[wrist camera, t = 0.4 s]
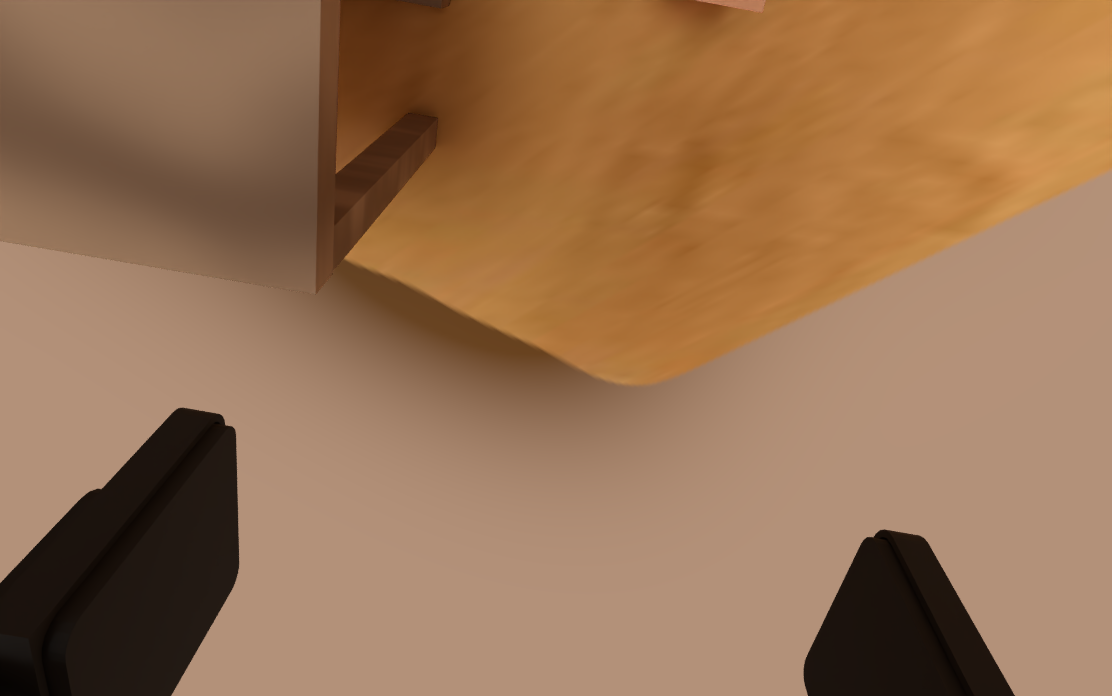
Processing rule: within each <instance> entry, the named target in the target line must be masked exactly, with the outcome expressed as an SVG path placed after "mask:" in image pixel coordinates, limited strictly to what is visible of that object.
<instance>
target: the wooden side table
mask: <svg viewBox="0 0 1112 696" xmlns="http://www.w3.org/2000/svg"><path fill="white" fill-rule="evenodd" d="M398 1H404V2H409V3H415V4H420V5H425V6H431V7H436V8H443V7H446V6H449V3H450V0H398ZM339 35H340V0H0V241H3V242H9V243H15V244H21V245H27V246H33V247H38V248H44V249H50V250H56V251H62V252H68V253H73V254H79V255H85V256H91V257H97V258H103V259H109V260H115V261H120V262H126V263H132V264H138V265H144V266H150V267H156V268H161V269H167V270H173V271H179V272H185V273H191V274H197V275H202V276H209V277H215V278H220V279H226V280H232V281H238V282H244V283H249V284H255V285H262V286H267V287H273V288H279V289H285V290H291V291H297V292H302V293H308V294H314V295H316V294H317V292H318V291H319V290H320V289H321V287H322V286H323V285H324V284H325V283H326V281H327V280H328V279H329V278H330V277H331V275H332V274H333V270H334V269H335V268H336V267H337V266H338V265H339V263H340V262H341V261H342V260H343V259H344V257H345V256H346V255H347V254H348V253H349V251H350V250H351V249H352V248H353V247H354V245H355V244H356V243H357V242H358V240H359V239H360V238H361V237H362V236H363V234H364V233H365V232H366V231H367V230H368V228H369V227H370V226H371V225H372V224H373V222H374V221H375V220H376V219H377V218H378V216H379V215H380V214H381V213H382V211H383V210H384V209H385V208H386V207H387V205H388V204H389V203H390V202H391V201H392V199H393V198H394V197H395V196H396V195H397V193H398V192H399V191H400V190H401V189H402V187H403V186H404V185H405V184H406V183H407V181H408V180H409V179H410V178H411V176H412V175H413V174H414V173H415V172H416V170H417V169H418V168H419V167H420V166H421V164H422V163H423V162H424V161H425V160H426V158H427V157H428V156H429V155H430V154H431V152H432V151H433V150H434V149H435V146H436V134H437V123H438V118H435V117H429V116H424V115H418V114H412V113H408V114H406V115H405V116H404V117H403V118H402V119H400V120H399V121H398V122H397V123H396V124H395V125H393V126H392V127H391V128H390V129H389V130H388V131H386V132H385V133H384V134H383V135H382V136H380V137H379V138H378V139H377V140H376V141H375V142H373V143H372V144H371V145H370V146H369V147H367V148H366V149H365V150H364V151H363V152H362V153H360V154H359V155H358V156H357V157H356V158H355V159H353V160H352V161H351V162H350V163H349V164H347V165H346V166H345V167H344V168H343V169H342V170H340V171H339V172H338V173H337V174H336V140H337V105H338V70H339Z"/></svg>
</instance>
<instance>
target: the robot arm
mask: <svg viewBox="0 0 1112 696" xmlns="http://www.w3.org/2000/svg"><path fill="white" fill-rule="evenodd" d="M236 457H237V456H236V432H235V429H234V428H233V427H232V426H226V425H225V421H224V418H223V416H222V415H220V414H216V413H210V412H205V411H199V410H193V409H187V408H178V409H177V410H175V411H174V412H173V413H172V414H171V415H170V416H169V417H168V418H167V419H166V420H165V422H164V423H163V424H162V425H161V426H160V427H159V428H158V429H157V430H156V431H155V432H154V433H153V434H152V436H151V437H150V438H149V439H148V440H147V441H146V442H145V443H144V444H143V445H142V446H141V447H140V449H139V450H138V451H137V452H136V453H135V454H134V455H133V456H132V457H131V458H130V459H129V460H128V461H127V463H126V464H125V465H124V466H123V467H122V468H121V469H120V470H119V471H118V472H117V473H116V474H115V475H114V477H113V478H112V479H111V480H110V481H109V482H108V483H107V484H106V485H105V486H104V487H103V488H102V489H96V490H93V491H90V492H88V493H87V494H86V495H85V496H83V497H82V498H81V499H80V500H79V501H78V502H77V503H76V504H75V505H74V506H73V507H72V508H71V509H70V510H69V512H68V513H67V514H66V515H65V516H64V517H63V518H62V519H61V520H60V521H59V522H58V523H57V524H56V525H55V526H54V527H53V528H52V529H51V530H50V531H49V533H48V534H47V535H46V536H45V537H44V538H43V539H42V540H41V541H40V542H39V543H38V544H37V545H36V546H35V547H34V548H33V549H32V550H31V551H30V552H29V554H28V555H27V556H26V557H25V558H24V559H23V560H22V561H21V562H20V563H19V564H18V565H17V566H16V567H15V568H14V569H13V570H12V571H11V572H10V573H9V574H8V576H7V577H6V578H5V579H4V580H3V581H2V582H1V583H0V696H171V695H172V693H173V691H174V690H175V688H176V686H177V684H178V683H179V681H180V679H181V677H182V676H183V674H184V672H185V670H186V669H187V667H188V665H189V664H190V662H191V660H192V658H193V656H194V655H195V653H196V651H197V650H198V648H199V646H200V644H201V643H202V641H203V639H204V637H205V636H206V634H207V632H208V631H209V629H210V627H211V625H212V624H213V622H214V620H215V618H216V616H217V615H218V613H219V611H220V610H221V608H222V606H223V604H224V603H225V601H226V599H227V597H228V595H229V594H230V592H231V590H232V588H233V586H234V584H235V581H236V578H237V574H238V569H239V539H238V538H239V537H238V502H237V501H238V498H237V459H236ZM804 682H805V687H806V690H807V694H808V696H1015V695H1014V694H1013V692H1012V690H1011V688H1010V686H1009V685H1008V683H1007V681H1006V680H1005V678H1004V676H1003V674H1002V672H1001V671H1000V669H999V667H998V665H997V664H996V662H995V660H994V659H993V657H992V655H991V653H990V651H989V649H988V648H987V646H986V644H985V642H984V641H983V639H982V637H981V635H980V634H979V632H978V630H977V628H976V627H975V625H974V623H973V621H972V620H971V618H970V616H969V614H968V613H967V611H966V609H965V607H964V606H963V604H962V602H961V600H960V598H959V597H958V595H957V593H956V591H955V590H954V588H953V586H952V584H951V583H950V581H949V579H948V577H947V576H946V574H945V572H944V570H943V568H942V567H941V565H940V563H939V561H938V560H937V558H936V556H935V554H934V553H933V551H932V549H931V548H930V546H929V544H928V542H927V541H926V540H925V539H924V538H923V537H921V536H919V535H913V534H907V533H901V532H895V531H890V530H880V531H879V532H877V533H876V534H875V536H874V537H867V538H866V539H864V540H863V542H862V543H861V545H860V547H859V549H858V552H857V553H856V556H855V558H854V560H853V562H852V564H851V566H850V568H849V570H848V572H847V574H846V576H845V579H844V580H843V583H842V585H841V587H840V589H839V591H838V593H837V595H836V597H835V599H834V601H833V603H832V605H831V607H830V610H829V611H828V613H827V616H826V618H825V620H824V622H823V624H822V626H821V628H820V630H819V632H818V634H817V636H816V638H815V640H814V642H813V644H812V647H811V649H810V651H809V653H808V655H807V657H806V660H805V664H804Z"/></svg>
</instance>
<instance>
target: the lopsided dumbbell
mask: <svg viewBox="0 0 1112 696" xmlns="http://www.w3.org/2000/svg"><path fill="white" fill-rule="evenodd" d="M696 1H702V2H707V3H712V4H718V5H723V6H728V7H734V8H739V9H744V10H750V11H755V12H760V13H763V9H764V5H765V2H766V0H696Z"/></svg>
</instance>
